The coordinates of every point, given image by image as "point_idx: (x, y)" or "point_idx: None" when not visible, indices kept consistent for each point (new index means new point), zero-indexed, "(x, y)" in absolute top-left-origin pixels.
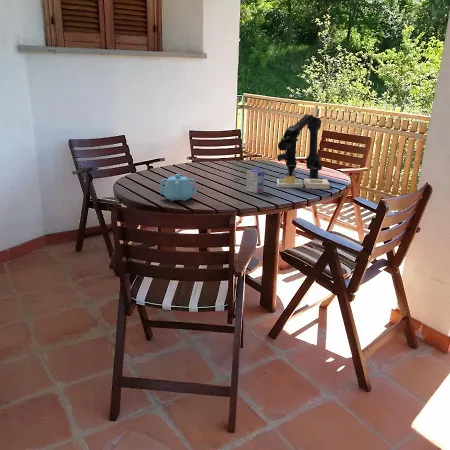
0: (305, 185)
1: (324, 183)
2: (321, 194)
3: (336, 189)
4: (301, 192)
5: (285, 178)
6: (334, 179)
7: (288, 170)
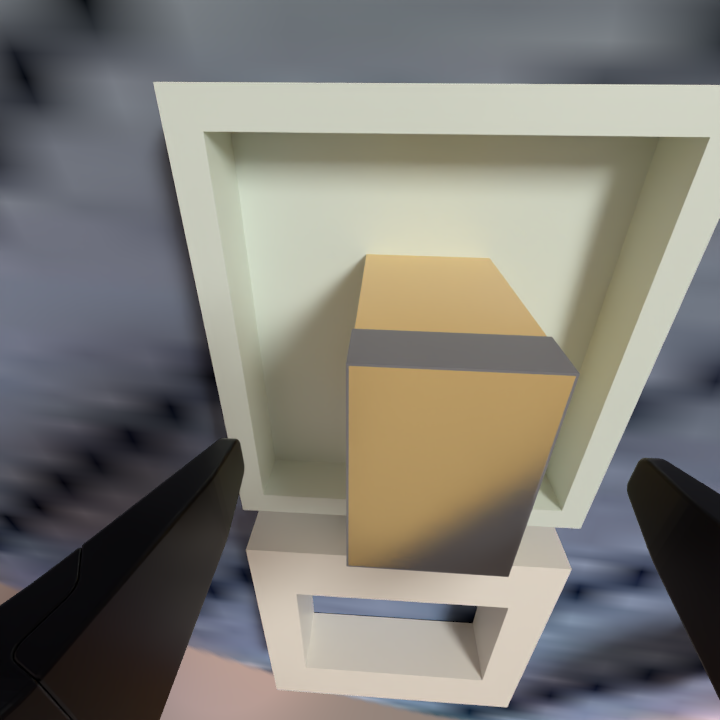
0: (334, 515)
1: (297, 669)
2: (51, 567)
3: None
4: (32, 432)
5: (359, 313)
6: (679, 711)
7: (694, 511)
